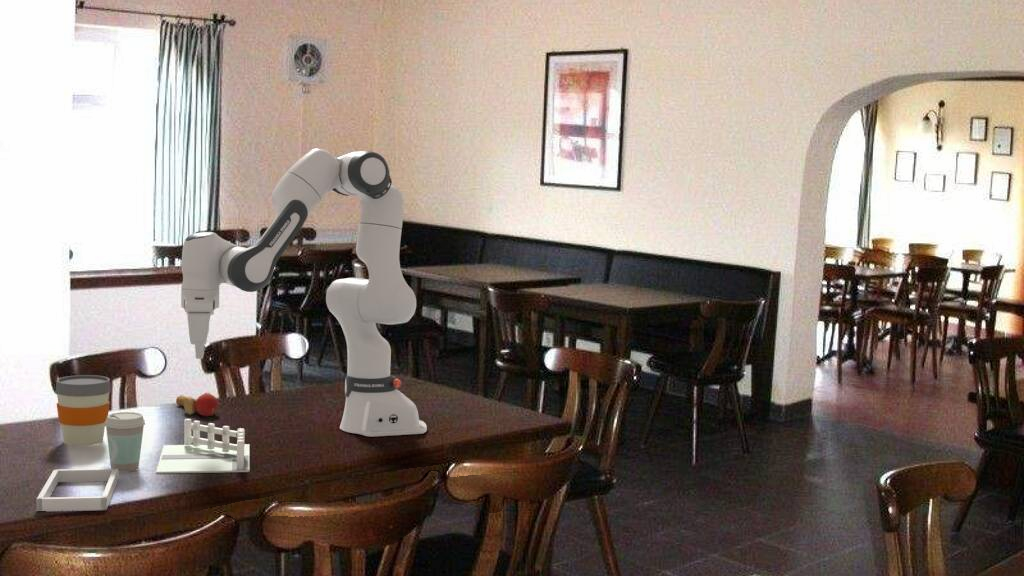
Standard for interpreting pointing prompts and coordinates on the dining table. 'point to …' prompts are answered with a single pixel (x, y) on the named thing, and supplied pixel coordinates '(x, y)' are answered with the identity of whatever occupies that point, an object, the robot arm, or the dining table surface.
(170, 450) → the card
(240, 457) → the fence fixed
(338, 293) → the robot arm
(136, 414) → the coffee cup
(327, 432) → the dining table surface
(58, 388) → the reusable coffee cup
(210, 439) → the white toy fence
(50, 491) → the rim
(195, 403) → the kendama
